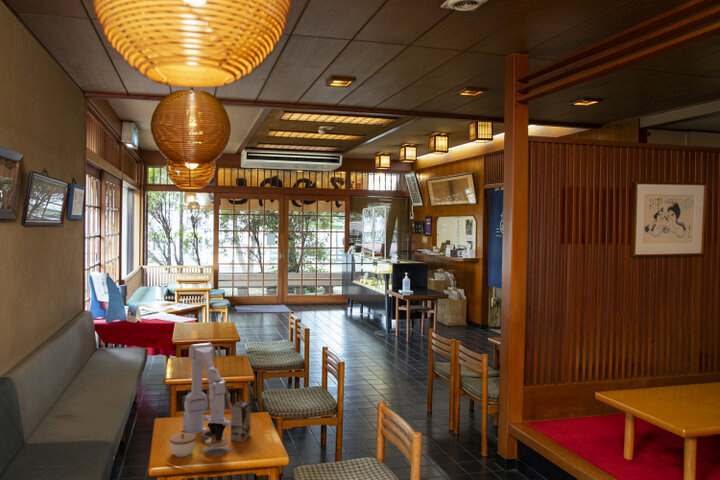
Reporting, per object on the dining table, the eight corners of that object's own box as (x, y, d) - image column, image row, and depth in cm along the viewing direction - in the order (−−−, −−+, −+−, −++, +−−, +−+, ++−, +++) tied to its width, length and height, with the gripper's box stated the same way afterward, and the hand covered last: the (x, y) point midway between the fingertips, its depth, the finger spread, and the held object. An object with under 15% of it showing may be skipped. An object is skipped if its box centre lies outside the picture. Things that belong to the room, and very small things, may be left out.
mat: (199, 452, 241) (199, 451, 241) (216, 444, 250) (216, 443, 250) (217, 457, 236) (217, 456, 236) (233, 449, 245) (233, 448, 245)
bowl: (197, 441, 253) (197, 435, 253) (212, 434, 261) (212, 428, 261) (212, 445, 248) (212, 439, 248) (227, 438, 257) (227, 432, 257)
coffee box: (243, 442, 253) (244, 407, 253) (230, 440, 255) (230, 406, 254) (251, 435, 262) (251, 401, 262) (238, 433, 263) (239, 400, 263)
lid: (200, 444, 241) (200, 435, 241) (216, 436, 250) (216, 428, 250) (217, 449, 236) (217, 440, 236) (233, 441, 245) (233, 432, 245)
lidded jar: (195, 458, 235) (195, 437, 234) (168, 461, 232) (169, 439, 231) (195, 448, 245) (195, 427, 245) (169, 451, 242) (170, 429, 242)
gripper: (198, 408, 242) (198, 438, 243) (223, 414, 235) (222, 446, 236) (210, 403, 249) (209, 433, 249) (234, 410, 242) (234, 440, 242)
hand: (216, 439), depth 243 cm, fingers closed on lid, 2 cm apart
